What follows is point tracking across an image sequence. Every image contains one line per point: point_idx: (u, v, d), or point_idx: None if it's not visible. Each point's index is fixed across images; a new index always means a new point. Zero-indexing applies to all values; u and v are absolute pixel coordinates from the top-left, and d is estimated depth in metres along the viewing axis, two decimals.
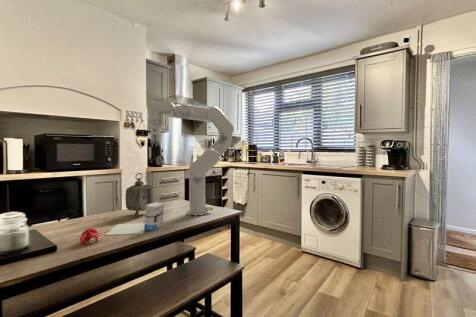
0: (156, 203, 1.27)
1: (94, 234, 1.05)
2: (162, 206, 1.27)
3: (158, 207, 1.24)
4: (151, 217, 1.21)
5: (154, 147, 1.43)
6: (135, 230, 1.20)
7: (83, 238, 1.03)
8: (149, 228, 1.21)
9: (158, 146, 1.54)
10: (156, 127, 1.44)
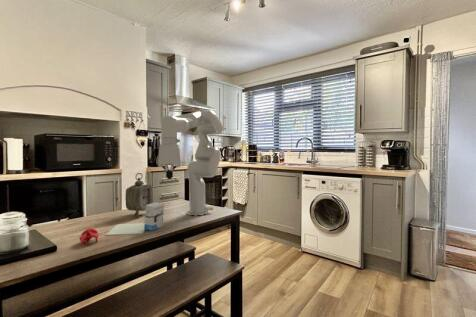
0: (156, 203, 1.27)
1: (94, 234, 1.05)
2: (162, 206, 1.27)
3: (158, 207, 1.24)
4: (151, 217, 1.21)
5: (172, 172, 1.26)
6: (135, 230, 1.20)
7: (83, 238, 1.03)
8: (149, 228, 1.21)
9: (168, 170, 1.26)
10: None
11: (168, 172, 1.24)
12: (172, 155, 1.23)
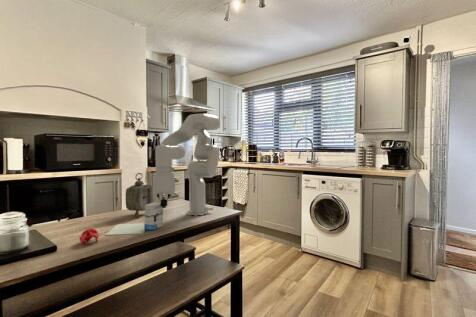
0: (155, 203, 1.27)
1: (94, 234, 1.05)
2: (161, 206, 1.27)
3: (157, 206, 1.24)
4: (151, 216, 1.21)
5: None
6: (135, 230, 1.20)
7: (83, 238, 1.03)
8: (149, 228, 1.22)
9: None
10: (173, 174, 1.27)
11: (162, 201, 1.24)
12: (166, 184, 1.24)
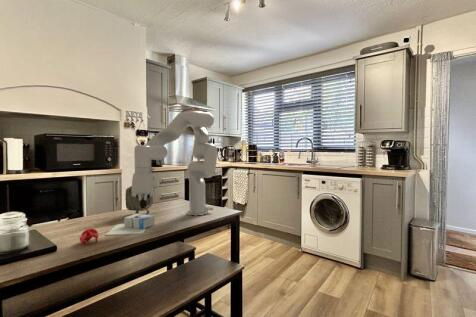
0: None
1: (94, 234, 1.05)
2: (135, 214, 1.32)
3: (131, 215, 1.29)
4: (132, 219, 1.24)
5: (146, 201, 1.25)
6: (135, 230, 1.20)
7: (83, 238, 1.03)
8: (141, 222, 1.23)
9: (142, 199, 1.25)
10: None
11: (142, 201, 1.23)
12: (145, 184, 1.22)
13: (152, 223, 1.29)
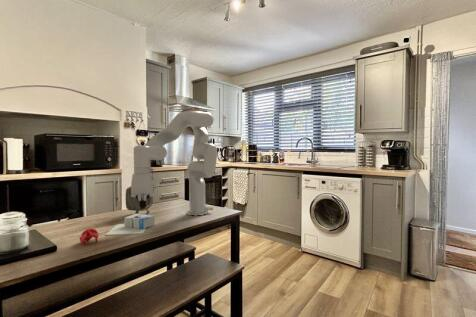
0: None
1: (94, 234, 1.05)
2: (135, 214, 1.32)
3: (131, 215, 1.29)
4: (132, 219, 1.24)
5: None
6: (135, 230, 1.20)
7: (83, 238, 1.03)
8: (141, 222, 1.23)
9: None
10: (152, 175, 1.26)
11: (141, 202, 1.23)
12: (145, 185, 1.22)
13: (152, 223, 1.29)
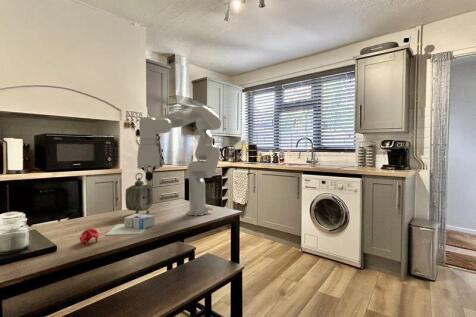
0: None
1: (94, 234, 1.05)
2: (135, 214, 1.32)
3: (131, 215, 1.29)
4: (132, 219, 1.24)
5: (152, 173, 1.25)
6: (135, 230, 1.20)
7: (83, 238, 1.03)
8: (141, 222, 1.23)
9: None
10: (158, 147, 1.26)
11: (147, 174, 1.23)
12: (151, 156, 1.22)
13: (152, 223, 1.29)
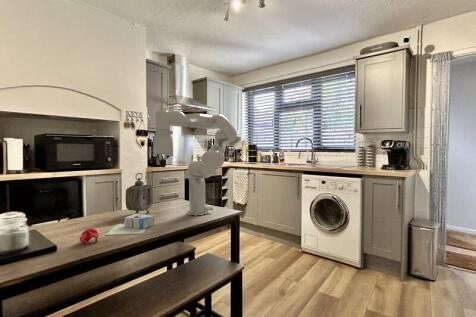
0: None
1: (94, 234, 1.05)
2: (135, 214, 1.32)
3: (131, 215, 1.29)
4: (132, 219, 1.24)
5: None
6: (135, 230, 1.20)
7: (83, 238, 1.03)
8: (141, 222, 1.23)
9: None
10: (171, 138, 1.40)
11: (162, 161, 1.37)
12: (165, 145, 1.36)
13: (152, 223, 1.29)
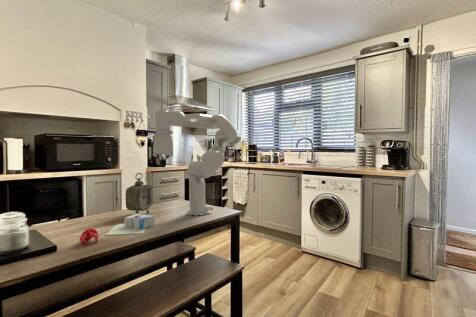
0: None
1: (94, 234, 1.05)
2: (135, 214, 1.32)
3: (131, 215, 1.29)
4: (132, 219, 1.24)
5: None
6: (135, 230, 1.20)
7: (83, 238, 1.03)
8: (141, 222, 1.23)
9: (162, 159, 1.40)
10: (171, 138, 1.40)
11: (162, 161, 1.37)
12: (165, 145, 1.36)
13: (152, 223, 1.29)
